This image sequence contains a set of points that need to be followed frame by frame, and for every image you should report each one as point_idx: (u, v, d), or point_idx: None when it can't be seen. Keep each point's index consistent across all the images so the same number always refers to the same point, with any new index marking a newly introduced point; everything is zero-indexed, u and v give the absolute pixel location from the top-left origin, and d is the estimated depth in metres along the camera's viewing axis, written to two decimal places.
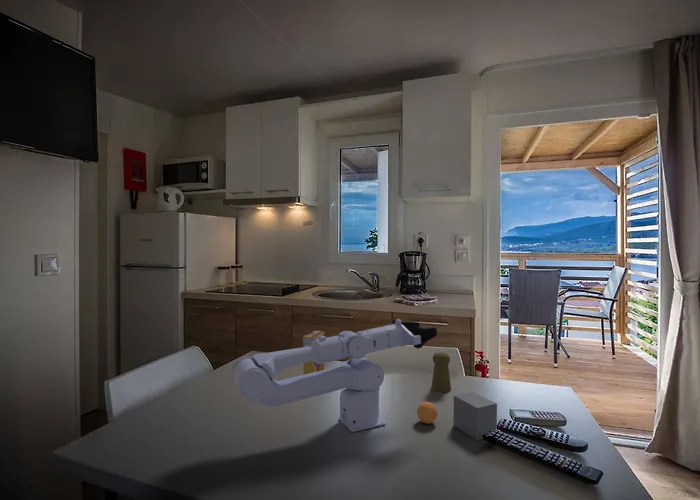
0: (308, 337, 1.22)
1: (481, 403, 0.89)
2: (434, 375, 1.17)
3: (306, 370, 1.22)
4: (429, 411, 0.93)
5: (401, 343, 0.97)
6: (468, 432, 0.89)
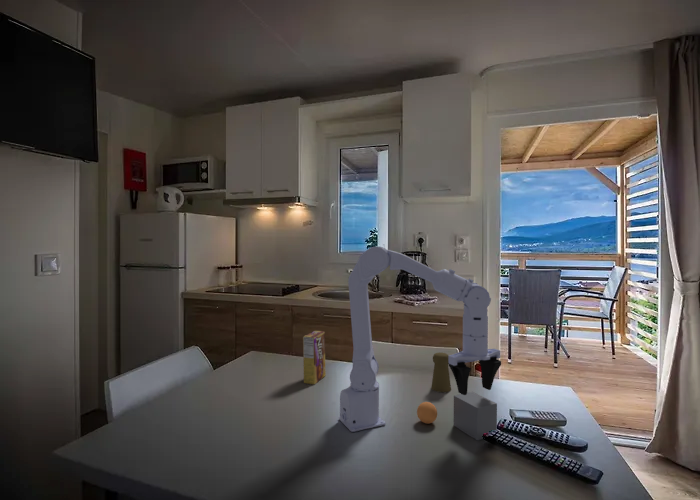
0: (308, 337, 1.22)
1: (481, 403, 0.89)
2: (434, 375, 1.17)
3: (306, 370, 1.22)
4: (429, 411, 0.93)
5: None
6: (468, 432, 0.89)
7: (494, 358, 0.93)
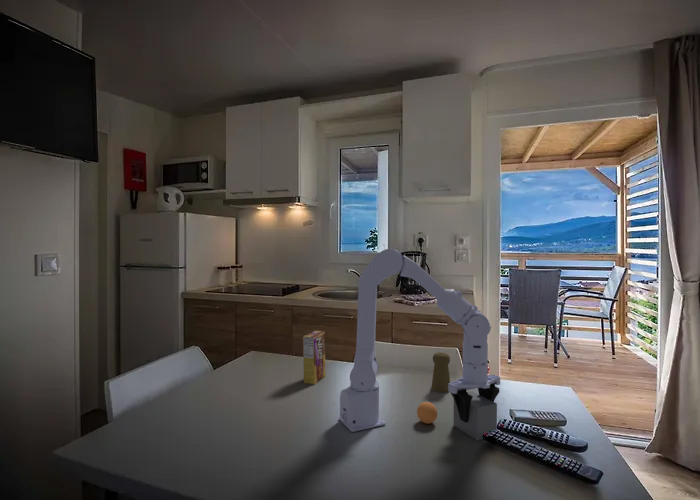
0: (308, 337, 1.22)
1: (481, 403, 0.89)
2: (434, 375, 1.17)
3: (306, 370, 1.22)
4: (429, 411, 0.93)
5: None
6: (468, 432, 0.89)
7: (492, 385, 0.93)
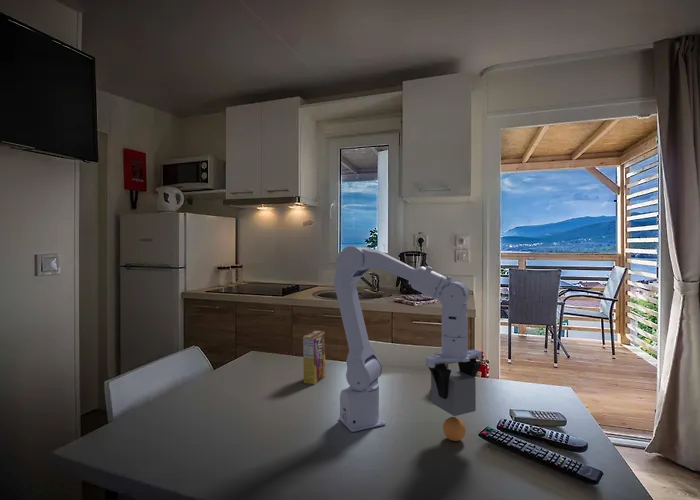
0: (308, 337, 1.22)
1: (459, 377, 0.85)
2: None
3: (306, 370, 1.22)
4: None
5: None
6: (446, 408, 0.84)
7: (473, 360, 0.87)
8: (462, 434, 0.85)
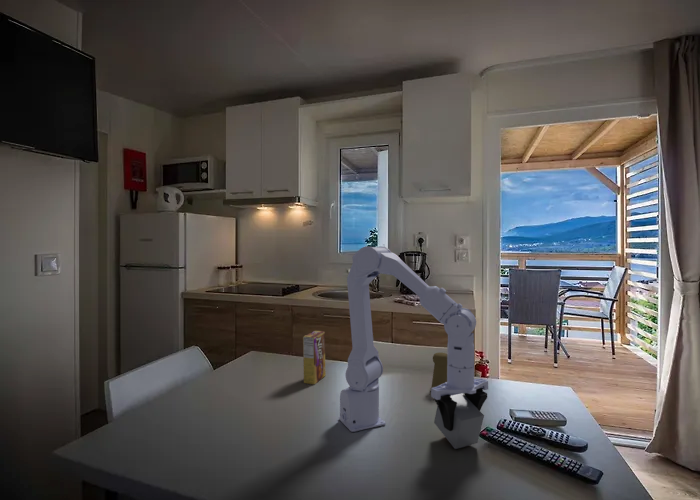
0: (308, 337, 1.22)
1: (467, 412, 0.82)
2: (434, 375, 1.17)
3: (306, 370, 1.22)
4: None
5: (447, 380, 0.85)
6: (448, 437, 0.84)
7: (480, 390, 0.86)
8: None
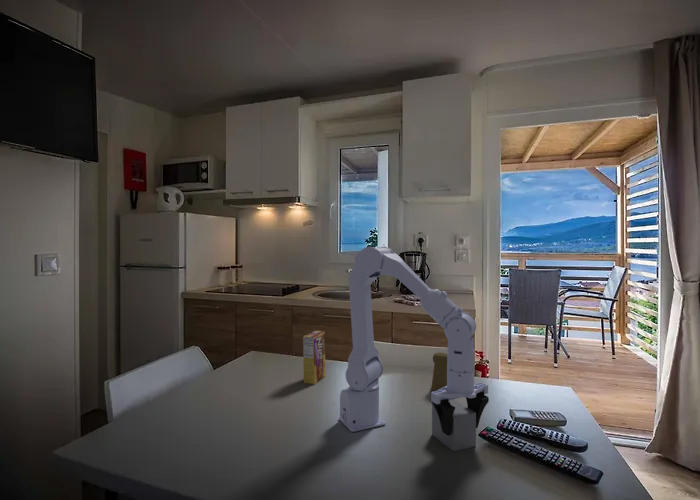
0: (308, 337, 1.22)
1: (460, 411, 0.84)
2: (434, 375, 1.17)
3: (306, 370, 1.22)
4: None
5: (447, 384, 0.85)
6: (445, 442, 0.84)
7: (481, 394, 0.86)
8: None
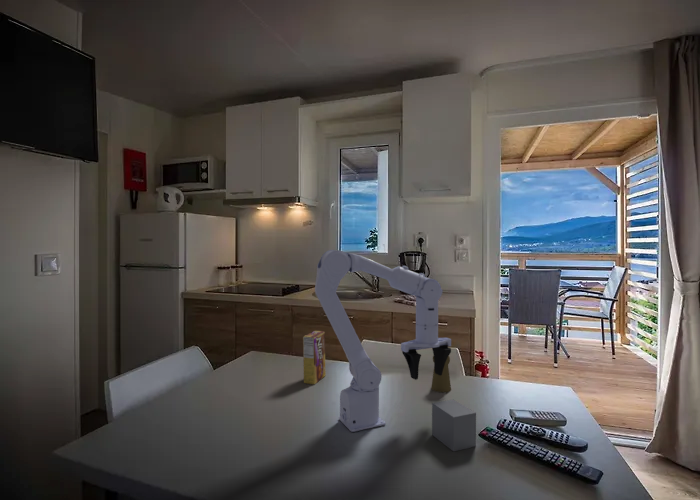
0: (308, 337, 1.22)
1: (460, 411, 0.84)
2: (434, 375, 1.17)
3: (306, 370, 1.22)
4: None
5: None
6: (445, 442, 0.84)
7: (445, 346, 1.00)
8: None
